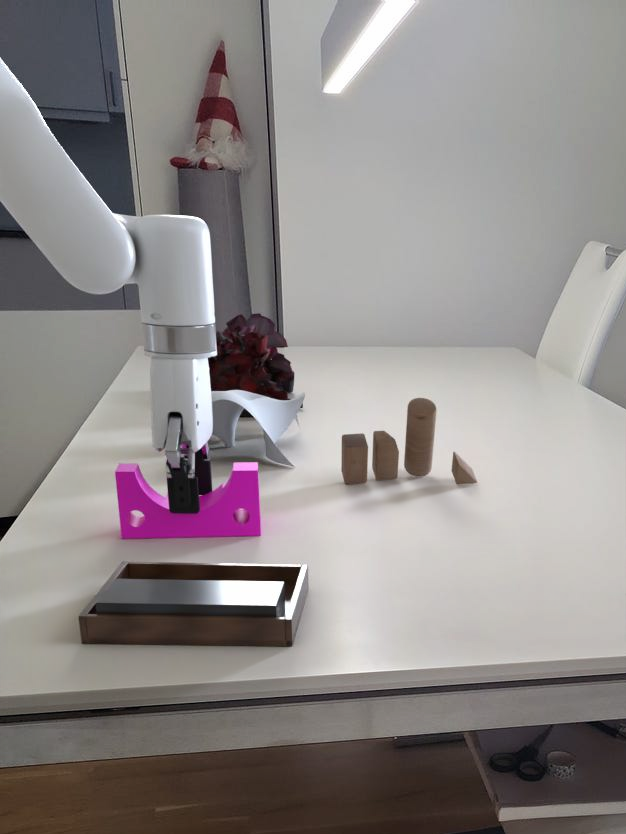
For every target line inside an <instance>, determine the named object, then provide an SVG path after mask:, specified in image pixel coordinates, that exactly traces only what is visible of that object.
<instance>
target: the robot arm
mask: <svg viewBox="0 0 626 834" xmlns="http://www.w3.org/2000/svg"><path fill="white" fill-rule="evenodd" d="M0 203H1V204H2V205H3V206H4V208H5V209H6V210H7V211H8V213H9V214H10V215H11V216H12V218H13V219H14V220H15V221H16V223H17V224H18V225H19V226H20V227H21V228H22V230H23V232H25V234H26V235H27V236H28V237H29V238H30V239H31V241H32V242H33V243H34V244H35V245H36V247H37V248H38V249H39V251H40V252H41V253H42V254H43V256H44V257H45V258H46V259H47V260H48V262H50V264H51V265H52V266H53V268H54V269H55V270H56V271H57V272H58V273H59V274H60V276H61V277H63V279H64V280H66V282H67V283H69V284H70V285H72V286H73V287H74V288H76V289H78V290H79V291H82V292H84V293H87V294H92V295H106V294H110V293H113V292H116V291H118V290H119V289H122V288H123V286H125V285H132V284H136V285H137V287H138V295H139V297H138V298H139V307H140V320H141V332H142V333H141V334H142V343H143V344H142V345H143V355H144V356H146V357H149V358H150V371H149V372H150V373H149V375H150V376H149V396H150V420H151V421H150V423H151V442H152V443H151V445H152V448H153V449H154V451H156V452H162V451H163V450H164V452H165V456H166V459H165V466H166V468H165V469H166V471H165V472H166V473H165V474H166V487H167V492H168V500H169V511H170V512H171V513H179V514H197V513H198V512H199V511H200V503H199V496H202V495H205V494H208V493H210V492H212V491H213V478H212V477H213V476H212V461H211V460H210V457H211V455H210V447H209V442H208V441H209V440H210V439H211V437H212V436H213V435H212V431H213V414H212V397H211V385H210V374H209V370H210V369H209V364H208V358H210V357H214V356H216V355H217V344H216V331H217V330H216V329H217V328H216V315H215V295H214V294H215V293H214V279H213V260H212V243H211V233H210V228H209V226H208V225H207V223H206V222H205V221H204V219H201V218H199V217H197V216H192V215H178V214H147V215H143V216H134V215H127V214H119V213H114V212H112V211H111V210H110V208H109V207H108V206H107V204H106V203H105V202H104V200H103V199H102V197H100V196H99V194H98V193H97V192H96V190H95V189H94V188H93V186H92V185H91V183H89V181H88V179H86V177H85V176H84V174H83V173H82V172H81V171H80V170H79V168H78V167H77V165H75V163H74V162H73V160H72V159H71V158H70V156H69V155H68V153H67V152H66V151H65V149H64V148H63V146H61V144H60V143H59V141H58V139H56V137H55V136H54V134H53V133H52V131H51V129H50V128H49V126H48V124H47V123H46V121H45V120H44V118H43V116H42V113H41V112H40V110H39V108H38V107H37V105H36V103H35V102H34V100H33V99H32V98H31V96H30V94H29V93H28V92H27V90H26V89H25V88H24V86H23V85H22V83H20V81H19V80H18V78H17V77H16V76H15V75H14V74H13V73H12V71H11V70H10V68H9V67H8V66H7V65H6V64H5V62H4V61H3V59H2V58H1V57H0ZM181 445H182V447H181Z"/></svg>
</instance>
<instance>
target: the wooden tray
mask: <svg viewBox="0 0 626 834" xmlns="http://www.w3.org/2000/svg"><path fill="white" fill-rule="evenodd" d="M309 589H310V587H309V565H308V564H278V563H277V564H273V563H271V564H269V563H226V562H225V563H223V562H222V563H221V562H220V563H218V562H217V563H216V562H174V561H173V562H168V561H167V562H165V561H122V562H121V563H120V564H119V565H118V566H117V568H116V569H115V570H114V572H113V573H112V574H111V575H110V577H109V578H108V579H107V580H106V582H105V583H104V584H103V585H102V586H101V588H100V589H99V590H98V591H97V593H96V594H95V595H94V596H93V598H92V599H91V600H90V601H89V602H88V603H87V605H86V606H85V607H84V608H83V610H82V611H81V612H80V613H79V615H78V616H77V617H78V627H79V633H80V641H81V642H80V643H81V644H91V645H92V644H93V645H94V644H98V645H99V644H101V645H103V644H104V645H106V644H107V645H112V644H113V645H167V646H168V645H173V646H174V645H175V646H176V645H177V646H179V645H180V646H236V647H237V646H241V647H243V646H245V647H247V646H248V647H249V646H250V647H251V646H253V647H293V645H294V642H295V639H296V635H297V631H298V628H299V625H300V622H301V617H302V614H303V610H304V607H305V603H306V600H307V597H308V592H309Z"/></svg>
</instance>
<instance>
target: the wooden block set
mask: <svg viewBox="0 0 626 834" xmlns="http://www.w3.org/2000/svg"><path fill="white" fill-rule="evenodd" d="M437 411H438V410H437V405H436V404H435V402H434V401H432V400H431V399H428V398H426V397H416V398H415V397H414V398H413V399H411V400H410V401H409V402H408V404H407V410H406V427H405V443H404V457H403V459H404V461H403V467H404V470H405V472H406V473H408V474H409V475H411V476H414V477H419V478H420V477H425V476H427V475H429V474H430V473H431V471H432V468H433V456H434V444H435V432H436V421H437ZM371 458H372V459H371V461H372V462H371V463H372V464H371V468H372V472H373V475H374V478H375V480H376V481H384V480H396V479H398V476H399V458H400V450H399V448H398V444H397V441H396V439H395V438H394V437H393V436H392V435H391V434H389V433H388V432H387V431H385V430H374V431H373V434H372V457H371ZM368 461H369V445H368V441H367V438H366V435H365V434H364V433H363V432H362V433H350V434H349V433H347V434H346V433H345V434H342V435H341V469H340V470H341V474H342V478H343V483H344V484H345V485H354V484H366V483H367V482H368V464H369V463H368ZM451 474H452V476H453V479H454V482H455V484H456V485H465V484H466V485H467V484H477V483H478V480H477V478H476V475H475V473H474V470H473V468H472V467H471V466H470V465H469V464H468V463H467V462H466V461H465V460H464V459H463V458H462V457H461V456H460V455H459V454H458V453H457V452H456V451H455V450H454V451H453V452H452V462H451Z"/></svg>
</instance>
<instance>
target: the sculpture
mask: <svg viewBox="0 0 626 834" xmlns="http://www.w3.org/2000/svg"><path fill="white" fill-rule="evenodd" d="M211 397H212V414H213V431H212V435H211V436H213V437H216V438H217V439H219V440H220V441H221V442H222V444H223V445H224V446H225V447H227V448H232V447H233V448H234V447H235V437H236V436H235V435H236V429H237V425H238V421H239V419H240V418H241V417H240V414H241V413H242V411H243V409H244V408H245V409H246V410H247V411H248V412H249V413H250V414H252V416H253V417H252V418H254V419H255V421H257V422H258V424H259V425H260V427H261V429H262V432H263V438H264V445H265V457H266V458H267V459H268V460H269V461H272V462H273V463H276V464H280V465H285V466H288V467H293V468H296V466H295V465H294V464H293V463H292V462H291V461H289V459H288V458H287V457H286V456H285V455H284V453H283V452H282V450H281V449H280V448H279V447H278V446H277V444H276V443H277V441H278V440H280V438H281V437H282V436H283V435H284V434H285V432H287V430H288V428H289V427H290V426H291V424H292V423H293V421H294V420H295V421H296V423H297V425H298V427H299V428H301V426H300V423H299V420H298V413H299V411H300V409H301V408H300V407H301V405H302V403H303V404H304V401H305V397H306V392H301V393H300V394H298V395H297V396H295V397H294V398H290V399H291V400H277V399H272V398H269V397H266V396H263V395H259V394H255V393H251V392H247V391H243V390H229V391H211ZM180 448H182V445H181V446H180Z"/></svg>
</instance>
